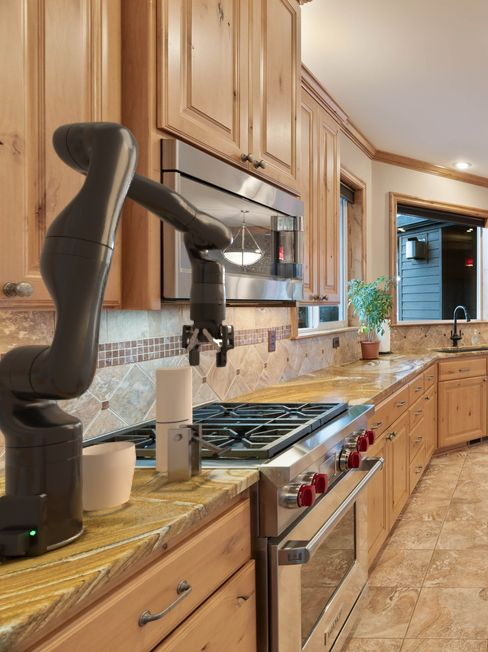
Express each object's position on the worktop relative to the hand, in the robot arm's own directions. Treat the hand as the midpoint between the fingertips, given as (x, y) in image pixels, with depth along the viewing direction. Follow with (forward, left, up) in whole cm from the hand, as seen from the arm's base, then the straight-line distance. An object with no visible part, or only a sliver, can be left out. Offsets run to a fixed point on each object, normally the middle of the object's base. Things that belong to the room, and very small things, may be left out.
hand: (207, 366), depth 116 cm
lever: (-12, -5, -17) cm, 21 cm away
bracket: (-12, -2, -25) cm, 28 cm away
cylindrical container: (-4, +5, -25) cm, 26 cm away
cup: (-25, +5, -25) cm, 36 cm away
